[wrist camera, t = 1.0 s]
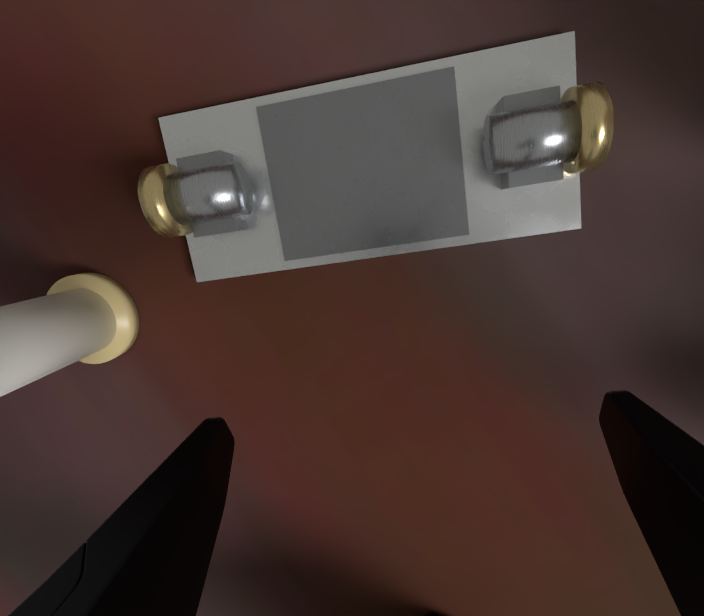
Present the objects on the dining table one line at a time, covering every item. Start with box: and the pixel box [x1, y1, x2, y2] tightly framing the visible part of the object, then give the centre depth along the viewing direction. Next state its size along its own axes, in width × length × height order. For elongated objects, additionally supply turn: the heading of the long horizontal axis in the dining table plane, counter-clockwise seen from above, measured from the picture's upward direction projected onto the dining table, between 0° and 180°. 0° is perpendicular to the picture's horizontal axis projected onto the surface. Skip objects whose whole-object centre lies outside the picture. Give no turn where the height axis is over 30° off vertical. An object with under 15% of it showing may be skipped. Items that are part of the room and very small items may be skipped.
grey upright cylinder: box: [0, 272, 139, 397], centre depth 20 cm, size 6×6×12 cm
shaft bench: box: [138, 31, 614, 282], centre depth 20 cm, size 21×9×4 cm, turn 99°
